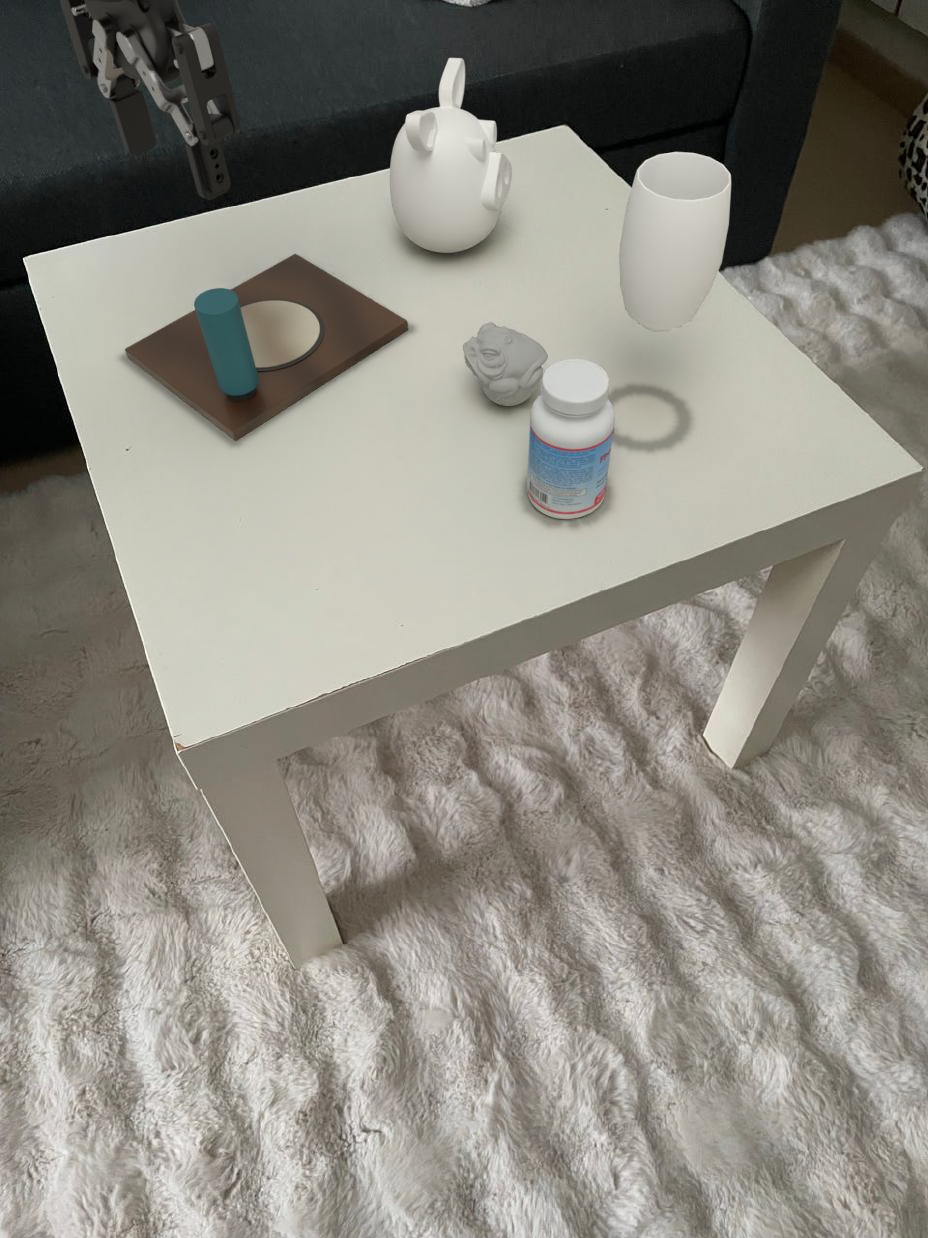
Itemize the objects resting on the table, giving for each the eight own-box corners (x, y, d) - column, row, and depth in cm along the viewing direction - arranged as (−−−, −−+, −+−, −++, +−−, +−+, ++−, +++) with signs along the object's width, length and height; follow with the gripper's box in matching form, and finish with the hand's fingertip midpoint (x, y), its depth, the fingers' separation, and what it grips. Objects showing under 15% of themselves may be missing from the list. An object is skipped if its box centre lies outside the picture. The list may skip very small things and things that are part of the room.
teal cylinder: (237, 410, 77) (211, 319, 70) (213, 392, 79) (185, 301, 71) (269, 390, 79) (246, 299, 71) (244, 373, 80) (220, 282, 73)
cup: (626, 458, 74) (666, 216, 57) (582, 404, 78) (607, 163, 61) (702, 430, 76) (762, 188, 59) (655, 378, 80) (699, 137, 63)
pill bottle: (613, 516, 71) (631, 403, 62) (535, 527, 70) (542, 414, 61) (593, 461, 74) (608, 346, 65) (519, 471, 74) (523, 357, 65)
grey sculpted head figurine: (461, 378, 80) (459, 310, 75) (540, 372, 81) (544, 303, 75) (467, 426, 77) (465, 358, 71) (550, 419, 77) (555, 351, 71)
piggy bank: (512, 276, 89) (515, 117, 77) (391, 277, 89) (376, 120, 77) (509, 205, 96) (512, 50, 84) (398, 207, 97) (384, 53, 85)
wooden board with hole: (235, 441, 77) (232, 430, 76) (127, 357, 83) (123, 346, 82) (408, 329, 85) (407, 318, 84) (297, 261, 91) (295, 250, 90)
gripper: (-31, -132, 51) (74, 157, 65) (112, -71, 45) (195, 233, 59) (85, -164, 55) (163, 118, 68) (233, -111, 49) (286, 187, 62)
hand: (178, 171), depth 63 cm, fingers open, 8 cm apart
